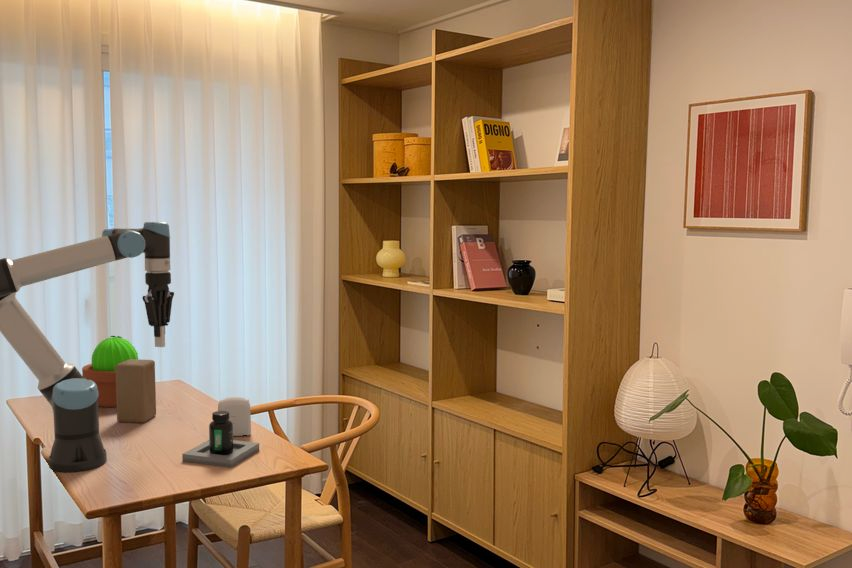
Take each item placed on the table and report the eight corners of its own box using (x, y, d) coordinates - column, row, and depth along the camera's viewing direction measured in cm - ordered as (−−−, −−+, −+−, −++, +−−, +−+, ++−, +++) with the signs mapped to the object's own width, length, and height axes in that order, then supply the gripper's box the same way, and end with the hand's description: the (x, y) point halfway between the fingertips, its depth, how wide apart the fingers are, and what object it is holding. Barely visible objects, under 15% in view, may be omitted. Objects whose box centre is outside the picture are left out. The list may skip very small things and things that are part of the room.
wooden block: (157, 415, 271) (155, 359, 269) (144, 423, 261) (142, 365, 259) (130, 414, 272) (128, 358, 270) (115, 422, 262) (113, 364, 260)
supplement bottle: (220, 457, 225) (220, 417, 224) (204, 453, 229) (203, 413, 228) (238, 451, 231) (237, 412, 230) (222, 447, 235) (221, 408, 233)
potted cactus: (115, 412, 275) (113, 342, 272) (70, 404, 284) (68, 337, 281) (160, 398, 295) (158, 333, 292) (117, 391, 304) (115, 328, 301)
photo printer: (217, 437, 248) (216, 399, 246) (219, 433, 252) (218, 396, 250) (250, 436, 249) (249, 399, 247) (251, 432, 253) (251, 395, 251)
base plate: (231, 467, 220) (231, 459, 220) (182, 461, 225) (182, 453, 225) (259, 450, 235) (259, 443, 235) (213, 444, 240) (212, 437, 240)
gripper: (155, 274, 233) (157, 351, 236) (180, 270, 246) (182, 343, 248) (134, 273, 236) (136, 349, 238) (160, 269, 248) (162, 342, 251)
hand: (160, 346), depth 243 cm, fingers closed
